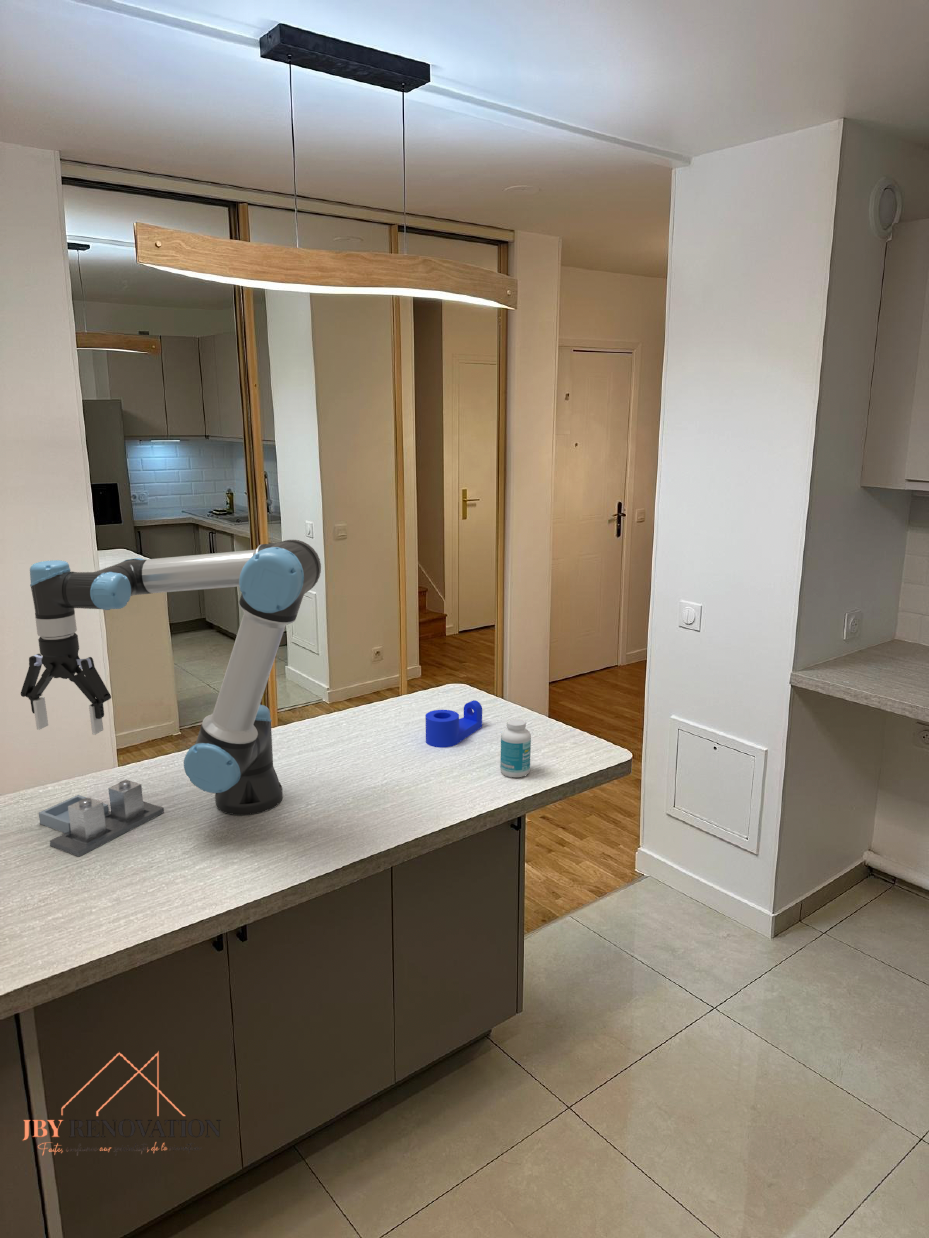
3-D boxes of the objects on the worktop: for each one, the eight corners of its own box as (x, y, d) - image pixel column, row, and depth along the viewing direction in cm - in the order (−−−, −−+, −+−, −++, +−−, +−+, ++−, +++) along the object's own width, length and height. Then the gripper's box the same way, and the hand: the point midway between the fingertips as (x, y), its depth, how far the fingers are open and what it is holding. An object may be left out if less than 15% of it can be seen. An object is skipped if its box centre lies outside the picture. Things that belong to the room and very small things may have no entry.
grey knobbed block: (144, 817, 190) (141, 780, 188) (126, 826, 186) (122, 789, 184) (129, 812, 192) (126, 776, 190) (111, 821, 188) (107, 784, 186)
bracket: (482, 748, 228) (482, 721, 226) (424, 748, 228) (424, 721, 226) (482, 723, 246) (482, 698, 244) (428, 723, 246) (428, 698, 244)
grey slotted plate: (136, 803, 196) (135, 798, 196) (163, 812, 192) (163, 807, 192) (50, 845, 177) (49, 840, 177) (78, 856, 173) (78, 851, 173)
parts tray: (109, 815, 190) (108, 804, 190) (69, 834, 182) (68, 823, 181) (79, 805, 195) (78, 794, 194) (39, 823, 187) (38, 812, 186)
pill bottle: (528, 780, 209) (529, 728, 205) (498, 777, 210) (498, 726, 207) (531, 767, 216) (533, 717, 212) (502, 765, 217) (503, 715, 214)
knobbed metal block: (106, 836, 181) (102, 798, 179) (87, 846, 177) (82, 808, 175) (91, 831, 184) (87, 793, 181) (72, 840, 180) (67, 802, 177)
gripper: (121, 633, 180) (131, 727, 185) (19, 627, 185) (32, 719, 190) (99, 642, 172) (110, 740, 178) (-7, 636, 178) (7, 731, 183)
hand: (70, 729), depth 184 cm, fingers open, 13 cm apart
